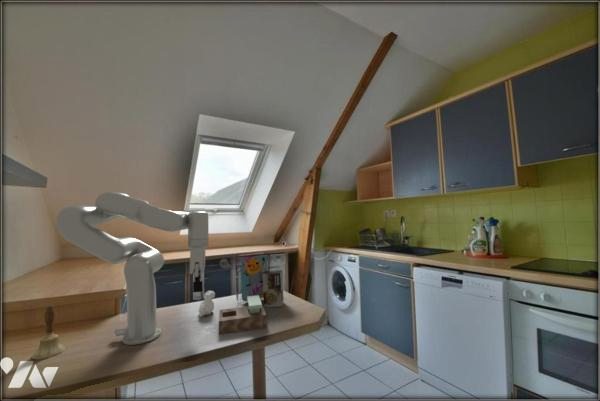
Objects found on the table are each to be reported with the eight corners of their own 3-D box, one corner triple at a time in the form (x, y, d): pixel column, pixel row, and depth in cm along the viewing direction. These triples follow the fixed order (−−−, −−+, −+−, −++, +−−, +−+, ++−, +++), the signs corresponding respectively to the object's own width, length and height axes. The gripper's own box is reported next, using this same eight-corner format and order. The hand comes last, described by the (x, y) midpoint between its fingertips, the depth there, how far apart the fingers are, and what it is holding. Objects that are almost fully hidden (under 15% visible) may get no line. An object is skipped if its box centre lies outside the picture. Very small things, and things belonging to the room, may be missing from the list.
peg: (192, 300, 100) (192, 273, 101) (193, 297, 104) (193, 271, 105) (203, 299, 102) (203, 273, 102) (204, 296, 105) (204, 270, 106)
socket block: (219, 334, 100) (218, 321, 100) (219, 321, 111) (219, 309, 111) (266, 327, 104) (266, 314, 105) (262, 315, 116) (262, 304, 116)
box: (221, 310, 125) (220, 258, 125) (219, 306, 130) (218, 256, 131) (272, 300, 135) (270, 252, 136) (268, 297, 141) (266, 251, 142)
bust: (204, 323, 115) (220, 301, 117) (190, 314, 114) (206, 292, 116) (209, 313, 127) (224, 293, 128) (196, 304, 126) (211, 284, 128)
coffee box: (284, 302, 132) (283, 269, 133) (281, 307, 126) (280, 273, 126) (266, 302, 133) (265, 270, 134) (263, 307, 127) (262, 273, 127)
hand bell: (69, 344, 96) (69, 300, 96) (58, 356, 88) (58, 307, 89) (39, 350, 93) (39, 304, 93) (26, 362, 85) (26, 312, 86)
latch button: (249, 320, 103) (249, 306, 103) (247, 309, 114) (247, 296, 115) (262, 319, 104) (262, 304, 104) (259, 308, 116) (258, 295, 116)
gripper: (191, 241, 111) (191, 285, 110) (184, 246, 95) (184, 297, 94) (209, 240, 113) (210, 283, 112) (206, 245, 97) (207, 295, 96)
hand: (198, 289), depth 103 cm, fingers closed on peg, 4 cm apart
